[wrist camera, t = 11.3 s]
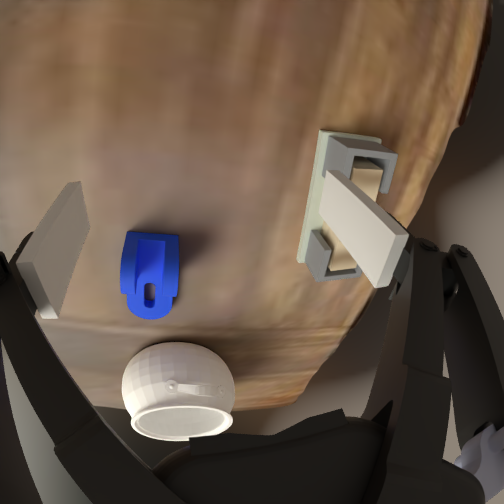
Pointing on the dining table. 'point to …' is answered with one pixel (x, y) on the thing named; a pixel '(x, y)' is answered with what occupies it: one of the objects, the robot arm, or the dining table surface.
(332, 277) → the bracket board
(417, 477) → the robot arm
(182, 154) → the dining table surface
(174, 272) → the bracket
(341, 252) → the tan long curved block
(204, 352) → the pot
